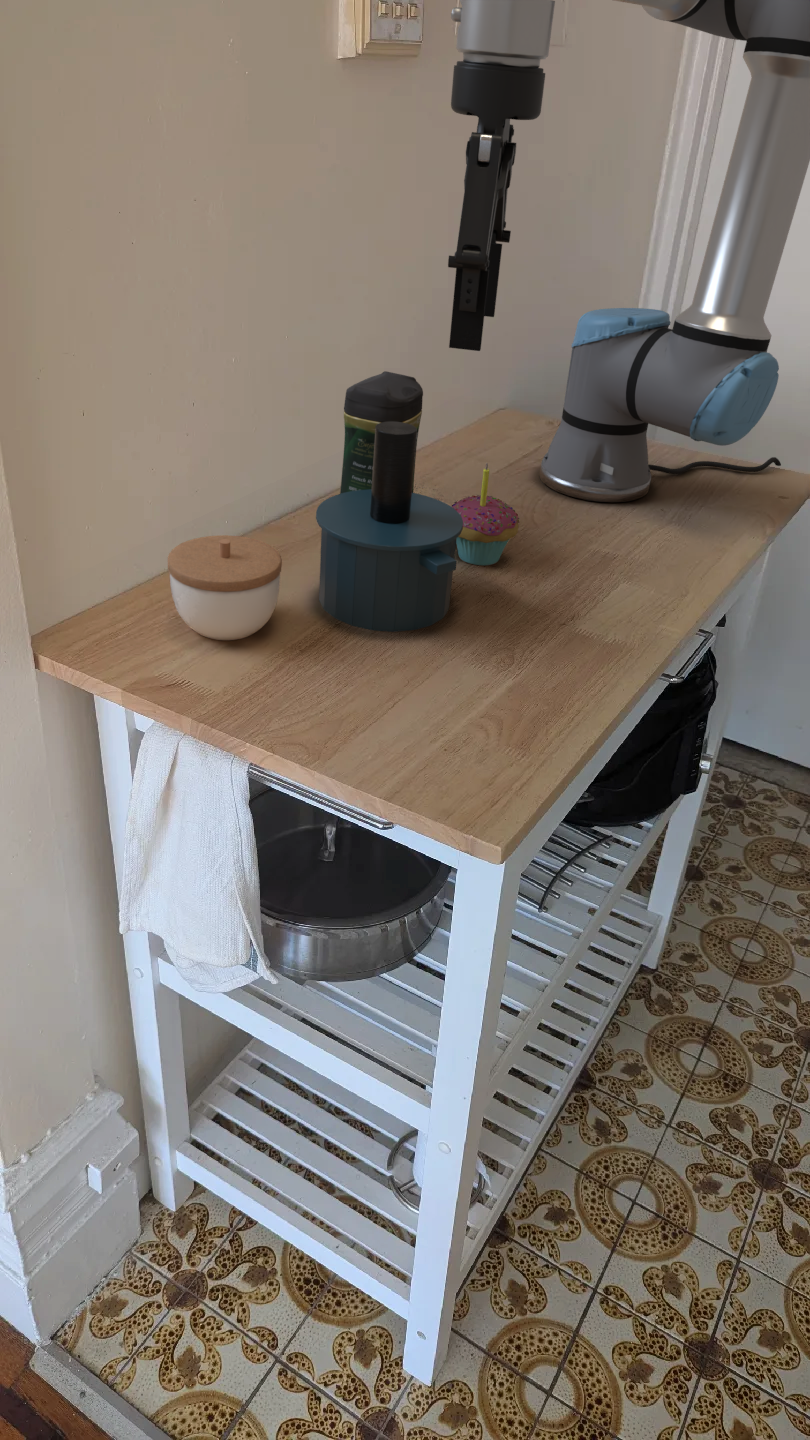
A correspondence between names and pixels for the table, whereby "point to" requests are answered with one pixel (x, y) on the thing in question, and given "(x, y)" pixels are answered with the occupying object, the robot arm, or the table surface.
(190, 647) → the table surface
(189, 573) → the trinket box
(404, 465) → the lid
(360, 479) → the coffee jar
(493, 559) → the cupcake
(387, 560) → the pot
